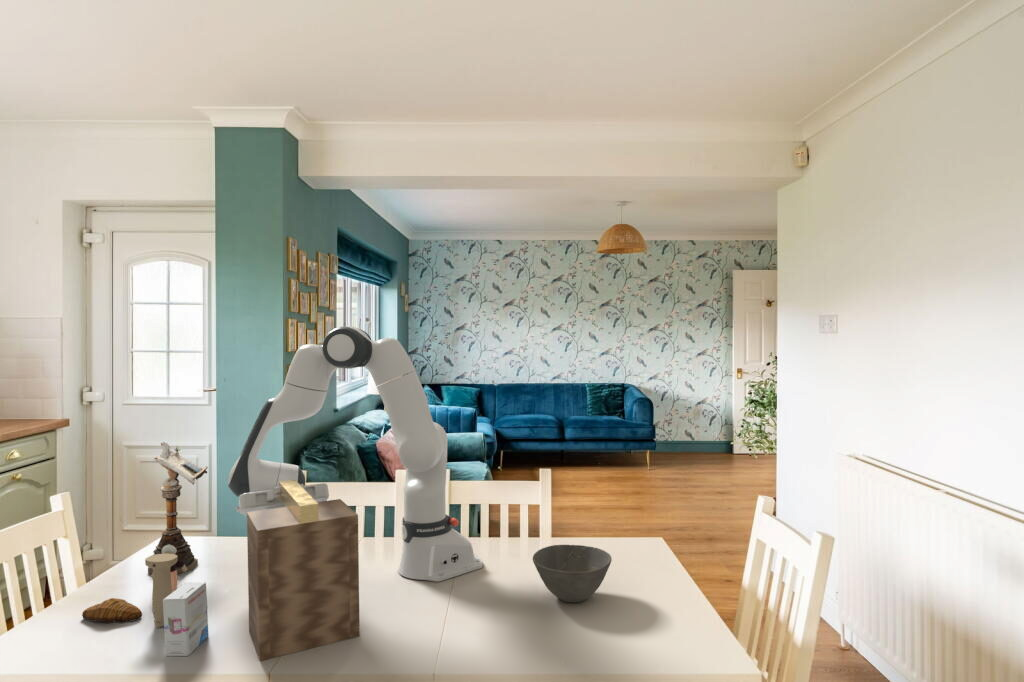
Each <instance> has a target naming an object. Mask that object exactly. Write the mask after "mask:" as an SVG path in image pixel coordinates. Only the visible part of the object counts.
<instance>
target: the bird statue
mask: <svg viewBox="0 0 1024 682" xmlns="http://www.w3.org/2000/svg"><path fill="white" fill-rule="evenodd" d="M160 446H161V448H162V451H161V453H160V456H155V457H154V461H155V462H157V463H158V464H160V465H161V467H163V468H165V469H166V470H167V474H168V477H167V478H166V479H164V481H163V482H162V485H163V486H162V487H160V491H161V497H162V498H163V499H165V504H166V506H165V507H166V512H165V513H164V515H165V516H166V528H165V529H163V531H162V532H161V537H160V539H159V542H158V544H157V545H155V549H154V550H153V555H155V554H162V548H163V547H164V546H166V545H169V544H170V545H173V546H174V547H175V548H176V550H177V551H176V554H175V555H177V559H179V560H181V561H183V562H184V563H185V566H186V568H187V571H185V572H184V571H183V570H182V569H181V568H179V567H176V570H177V576H181V575H184V574H187V573H190V572H192V571H193V570H194V569H195V568H197V566H198V565H199V561H198V558H196V557H195V555H194V553H193V552H192V549H191V545H190V544H188V543H189V542H188V541H186V539H185V538H184V536H183V533H182V530H181V528H179V527H178V526H177V523H178V522H177V516H178V514H179V512H178V511H177V501H178V498H179V497H181V489H182V485H181V484H179V483H180V480H179V479H178V477H179V476H181V477H183V478H184V479H186V480H187V481H188V482H189V483H190V484H192V485H194V484H195V483H196V480H199V479H200V478H202V477H203V476H204V475H205V474H208V471H207V470H208V466H205V467H204V468H202V467H200V466H198V465H196V464H195V463H193V462H191V461H189V460H188V459H186V458H185V457H183V456H181V454H180V453H179V451H181V449H180V448H179V445H177V446H176V448H174V449H173V450H174V451H173V450H171V449H170V448H171V447H170V445H169V443H167V442H164V441H161V442H160ZM147 573H148V575H150V576H151V575H152V573H153V569H152V568H150V567H148V566H147Z"/></svg>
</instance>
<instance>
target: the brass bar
mask: <svg viewBox="0 0 1024 682" xmlns="http://www.w3.org/2000/svg"><path fill="white" fill-rule="evenodd" d="M279 487H281V496H279V497H280V499H281V500H282V501H283V502H284V504H285V505H286V506H287V508H288V509H289V510H290V511H291V513H292V514H293V515H294V516H295V518H296V519H297V520H298V522H299V523H300V524H303V523H309V522H316V521H318V503H317V502H316V501H315V500H314V499H313V498H312V497H311V496H310V495H309V494H308V493H307V492H306V491H305V489H304V488H303V487H302V486H301V485H300V484H299V483H298V482H297V481H296V480H288V481H279Z"/></svg>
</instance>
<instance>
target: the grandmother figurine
mask: <svg viewBox="0 0 1024 682" xmlns="http://www.w3.org/2000/svg"><path fill="white" fill-rule="evenodd" d="M176 551H177V550H176V548H175V547H174V546H173V545H170V544H169V545H166V546H164V547H163V548H162V554H174V555H175V554H176ZM176 567H179V568H181V569H182V570H183V571H184V572H185V571H187V568H186V566H185V563H184V562H183V561H181V560H179V559H177V562H176V563H175V564H174V565H173V566H171V567H170V574H171V586H172V593H173V592H174V591H175V590H176V589H178V575H177V570H176ZM150 578H151V579H153V573H152V575H150Z"/></svg>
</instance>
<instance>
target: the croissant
mask: <svg viewBox="0 0 1024 682" xmlns="http://www.w3.org/2000/svg"><path fill="white" fill-rule="evenodd" d="M142 616H143V612H142V610H141V609H140V608H139V607H138V606H136V605H134V604H132V603H129V602H128V601H127V600H126V599H121V598H114V597H113V598H109V599H106V600H104V601H102V602H100V603H97V604H94V605H92V606H89V607H87V608H86V609H85V610H83V611H82V618H83V619H84V620H87V621H90V622H98V623H103V624H104V623H105V624H108V623H109V624H110V623H111V624H112V623H125V622H133V621H137V620H140V619H141V618H142Z"/></svg>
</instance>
